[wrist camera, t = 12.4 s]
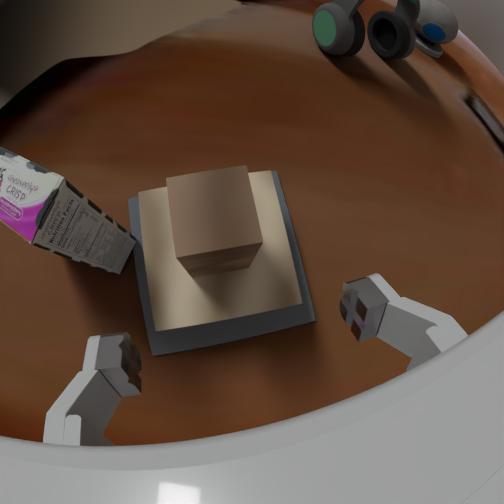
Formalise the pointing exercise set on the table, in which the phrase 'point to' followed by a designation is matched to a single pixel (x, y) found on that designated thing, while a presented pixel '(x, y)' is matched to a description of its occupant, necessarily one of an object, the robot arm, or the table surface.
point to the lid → (215, 248)
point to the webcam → (434, 27)
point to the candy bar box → (59, 216)
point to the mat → (230, 327)
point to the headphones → (379, 29)
